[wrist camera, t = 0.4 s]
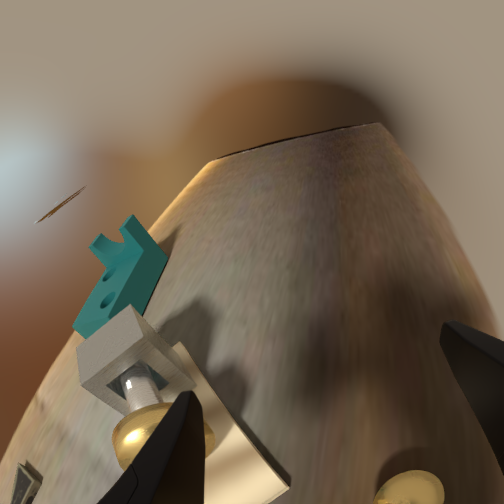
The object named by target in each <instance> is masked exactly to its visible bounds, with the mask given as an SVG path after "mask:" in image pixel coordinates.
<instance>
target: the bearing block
mask: <svg viewBox="0 0 504 504" xmlns="http://www.w3.org/2000/svg"><path fill="white" fill-rule="evenodd" d="M76 351H77V360H78V369H79V376H80V383H81V386H82V387H84V388H85V389H86V390H88V391H89V392H90V393H92V394H93V395H95V396H96V397H97V398H99V399H100V400H102V401H103V402H105V403H106V404H108V405H109V406H111V407H112V408H114V409H115V410H117V411H118V412H120V413H121V414H123V415H124V416H127V415H128V414H130V413H131V412H130V409H129V406H128V403H127V400H126V397H125V394H124V391H123V388H122V384H121V381H120V378H119V375H120V374H121V373H123V372H124V371H125V370H127V369H128V368H129V367H130V366H132V365H133V364H134V363H136V362H137V361H138V360H140V359H142V360H143V361H145V362H146V363H147V366H148V368H149V370H150V373H151V375H152V377H153V379H154V382H155V384H156V386H157V388H158V390H159V392H160V395H161V397H162V399H163V401H164V402H174V401H175V399H176V398H177V396H178V395H179V394H180V392H182V391H188V390H192V389H193V388H195V387H196V386H197V384H196V383H195V381H194V380H193V378H192V376H191V375H190V373H189V372H188V370H187V368H186V367H185V365H184V363H183V362H182V360H181V358H180V357H179V355H178V353H177V352H176V351H175V350H174V349H173V348H172V347H171V346H170V345H169V344H168V343H167V342H166V341H165V340H164V339H163V338H162V337H161V336H160V335H159V334H158V333H157V332H156V331H155V330H154V329H153V328H152V327H151V326H150V325H149V324H148V323H147V321H146V320H145V319H144V318H143V317H142V316H141V315H140V314H139V313H138V312H137V311H136V310H135V308H134V307H133V306H132V305H131V304H129V305H128V306H127V307H126V308H124V309H123V310H122V311H121V312H119V313H118V314H117V315H116V316H114V317H113V318H112V319H111V320H109V321H108V322H107V323H106V324H104V325H103V326H102V327H101V328H100V329H98V330H97V331H96V332H95V333H93V334H92V335H91V336H90V337H89V338H87V339H86V340H85V341H84V342H82V343H81V344H80V345H79V346H78V347H76Z"/></svg>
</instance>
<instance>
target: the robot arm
mask: <svg viewBox="0 0 504 504" xmlns="http://www.w3.org/2000/svg"><path fill="white" fill-rule="evenodd" d="M440 345H441V348H442V350H443V352H444V354H445V356H446V358H447V361H448V363H449V365H450V367H451V370H452V372H453V374H454V376H455V378H456V380H457V382H458V384H459V385H460V387H461V389H462V391H463V393H464V394H465V396H466V398H467V400H468V402H469V404H470V405H471V407H472V409H473V411H474V413H475V415H476V417H477V419H478V421H479V423H480V425H481V427H482V429H483V431H484V433H485V435H486V437H487V439H488V441H489V443H490V445H491V447H492V450H493V452H494V454H495V456H496V459H497V461H498V463H499V466H500V468H501V470H502V473H503V475H504V341H502V340H500V339H497V338H495V337H493V336H490V335H488V334H486V333H483V332H481V331H479V330H477V329H474V328H472V327H470V326H467V325H465V324H463V323H460V322H458V321H456V320H449V321H447V322H444V323H443V325H442V329H441V334H440ZM205 454H206V445H205V433H204V421H203V409H202V405H201V403H200V401H199V399H198V398H197V396H196V394H195V393H194V391H192V390H188V391H182V392H180V394H179V395H178V396H177V398H176V399H175V401H174V402H173V404H172V405H171V407H170V408H169V409H168V411H167V412H166V414H165V415H164V417H163V418H162V420H161V421H160V422H159V424H158V425H157V427H156V428H155V430H154V431H153V432H152V434H151V435H150V437H149V438H148V440H147V441H146V442H145V444H144V445H143V447H142V448H141V449H140V451H139V452H138V454H137V455H136V456H135V458H134V459H133V461H132V462H131V464H130V465H129V466H128V468H127V469H126V470H125V472H124V473H123V474H122V476H121V477H120V478H119V480H118V481H117V482H116V483H115V484H114V485H113V487H112V488H111V489H110V490H109V491H108V492H107V493H106V494H105V495H104V497H103V498H102V499H101V500H100V501H99V502H98V503H97V504H204V485H205Z"/></svg>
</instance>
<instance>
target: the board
mask: <svg viewBox="0 0 504 504" xmlns="http://www.w3.org/2000/svg"><path fill="white" fill-rule="evenodd" d="M172 348H173V349H174V350H175V351H176V352H177V353H178V355H179V357H180V358H181V360H182V362H183V363H184V365H185V367H186V368H187V370H188V372H189V373H190V375H191V376H192V378H193V380H194V381H195V383H196V384H197V386H196V387H195V388H193V389H192V391H194V393H195V394H196V396H197V398H198V399H199V401H200V403H201V405H202V409H203V416H204V418H205V420H206V421H207V423H208V424H209V426H210V427H211V429H212V431H213V432H214V434H215V438H216V440H215V446H214V448H213V450H212V452H211V453H210V454H209V456H208V457H207V458H206V459H205V485H204V504H268V503H269V502H271V501H272V500H274V499H275V498H277V497H278V496H280V495H281V494H282V493H284V492H285V491H287V490H288V489H289V488H290V487H289V486H288V485H287V484H286V483H285V482H284V481H283V479H282V478H281V477H280V476H279V475H278V474H277V472H276V471H275V470H274V469H273V468H272V467H271V465H270V464H269V463H268V462H267V461H266V459H265V458H264V457H263V456H262V454H261V453H260V452H259V451H258V449H257V448H256V447H255V446H254V444H253V443H252V442H251V441H250V439H249V438H248V437H247V435H246V434H245V433H244V432H243V430H242V429H241V428H240V426H239V425H238V424H237V422H236V421H235V420H234V418H233V417H232V416H231V414H230V413H229V411H228V410H227V409H226V407H225V406H224V405H223V403H222V402H221V400H220V399H219V398H218V396H217V395H216V393H215V392H214V390H213V389H212V388H211V386H210V385H209V383H208V382H207V380H206V379H205V377H204V376H203V374H202V373H201V371H200V370H199V368H198V367H197V365H196V364H195V362H194V361H193V359H192V358H191V356H190V354H189V353H188V351H187V350H186V348H185V347H184V345H183V344H182V343H181V342H180V341H179V342H178V343H177V344H175V345H174V346H173V347H172Z"/></svg>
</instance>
